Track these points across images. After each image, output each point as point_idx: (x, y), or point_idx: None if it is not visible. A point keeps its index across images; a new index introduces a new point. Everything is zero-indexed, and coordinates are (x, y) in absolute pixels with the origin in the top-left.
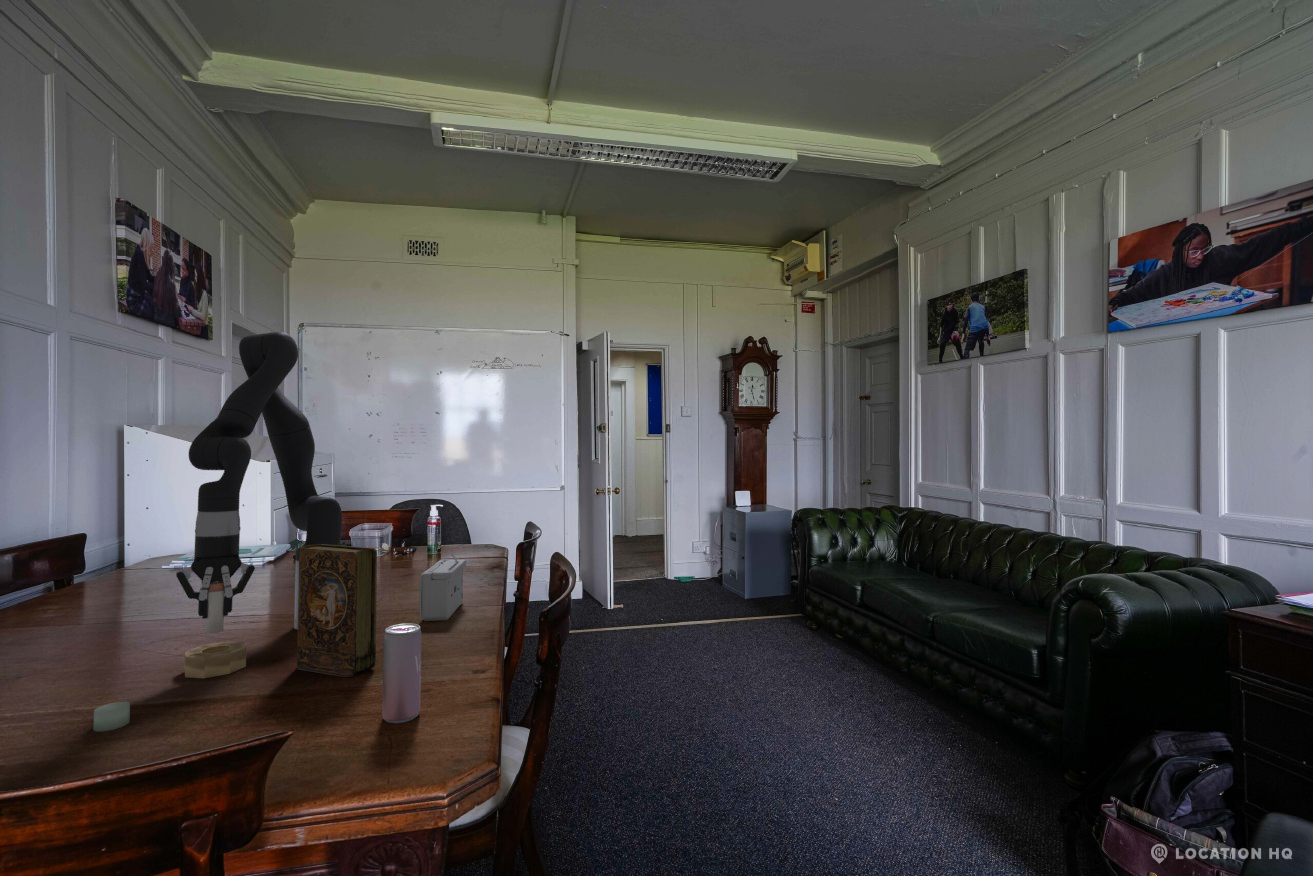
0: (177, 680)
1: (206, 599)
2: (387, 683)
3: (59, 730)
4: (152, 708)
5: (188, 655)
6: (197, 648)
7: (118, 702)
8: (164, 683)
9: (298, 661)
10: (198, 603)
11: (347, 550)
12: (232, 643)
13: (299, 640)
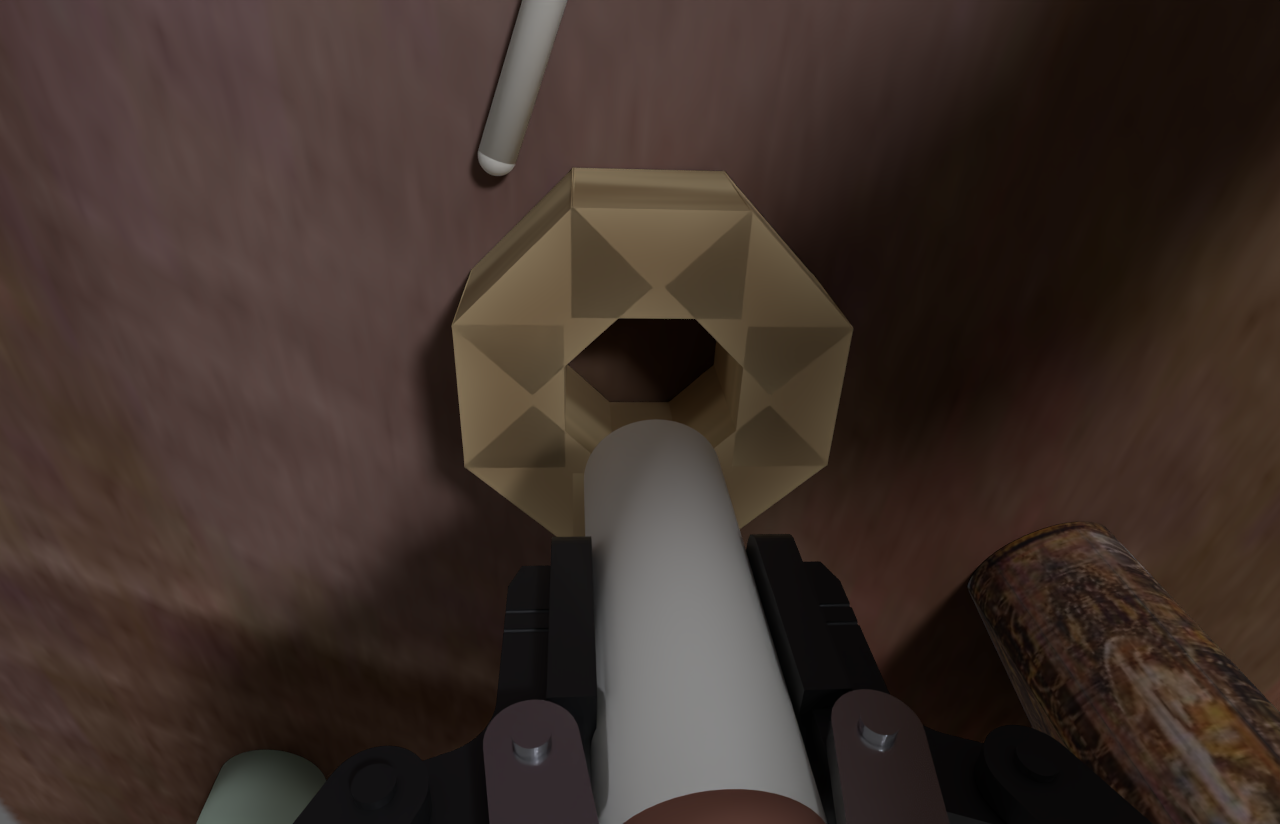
0: (444, 419)
1: (588, 742)
2: None
3: (96, 746)
4: (382, 710)
5: (479, 441)
6: (535, 290)
7: (255, 821)
8: (382, 430)
9: (989, 623)
10: (499, 676)
11: None
12: (777, 310)
13: (1051, 726)
